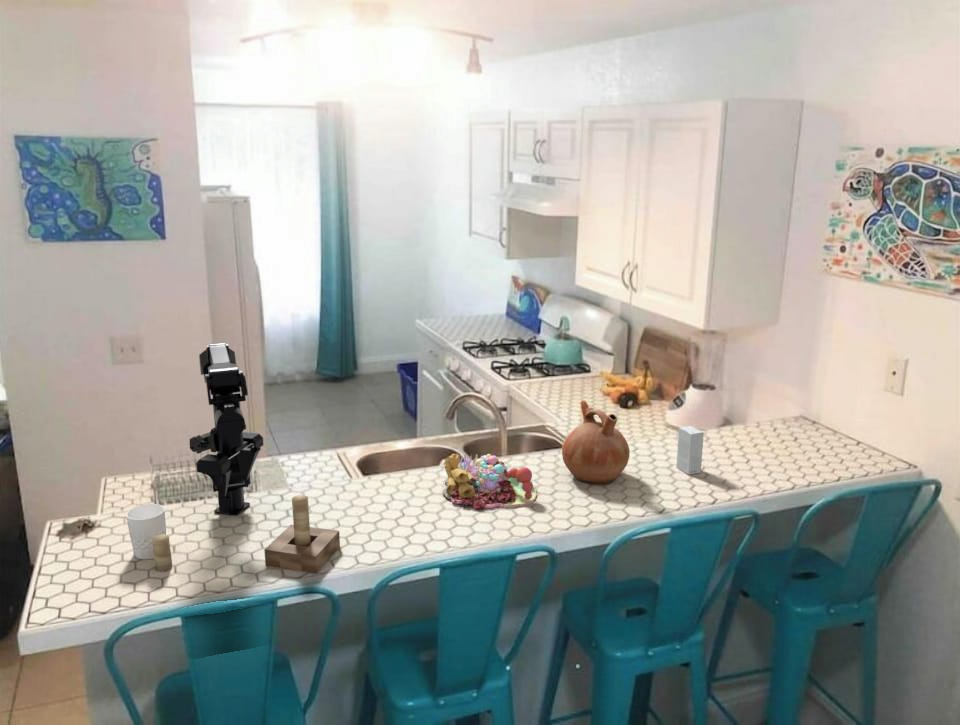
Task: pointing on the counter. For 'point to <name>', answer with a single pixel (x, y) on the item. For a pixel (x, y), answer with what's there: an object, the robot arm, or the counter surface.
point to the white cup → (145, 528)
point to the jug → (595, 448)
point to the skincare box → (690, 450)
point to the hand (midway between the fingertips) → (234, 487)
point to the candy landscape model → (487, 483)
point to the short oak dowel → (162, 552)
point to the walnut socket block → (302, 550)
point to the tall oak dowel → (301, 520)
